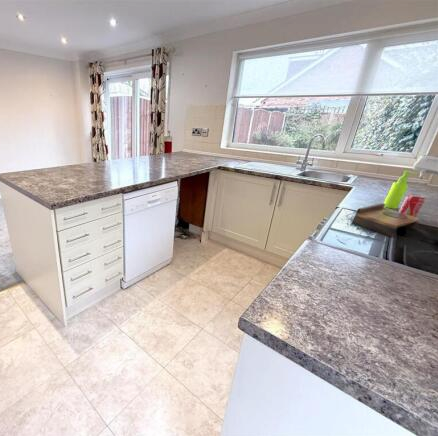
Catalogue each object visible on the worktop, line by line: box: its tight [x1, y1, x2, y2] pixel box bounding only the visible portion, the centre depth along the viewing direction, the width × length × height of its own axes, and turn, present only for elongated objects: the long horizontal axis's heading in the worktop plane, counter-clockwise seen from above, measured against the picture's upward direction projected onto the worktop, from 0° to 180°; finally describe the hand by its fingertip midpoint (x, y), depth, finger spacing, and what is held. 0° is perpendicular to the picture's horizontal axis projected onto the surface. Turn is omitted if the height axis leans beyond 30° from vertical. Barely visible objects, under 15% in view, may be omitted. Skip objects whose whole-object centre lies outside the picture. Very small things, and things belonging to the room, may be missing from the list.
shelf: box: [351, 202, 420, 238], centre depth 108 cm, size 14×22×7 cm, turn 117°
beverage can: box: [398, 193, 426, 217], centre depth 116 cm, size 6×6×12 cm
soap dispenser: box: [383, 170, 419, 210], centre depth 130 cm, size 6×7×20 cm
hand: (433, 181), depth 117 cm, fingers open, 8 cm apart
